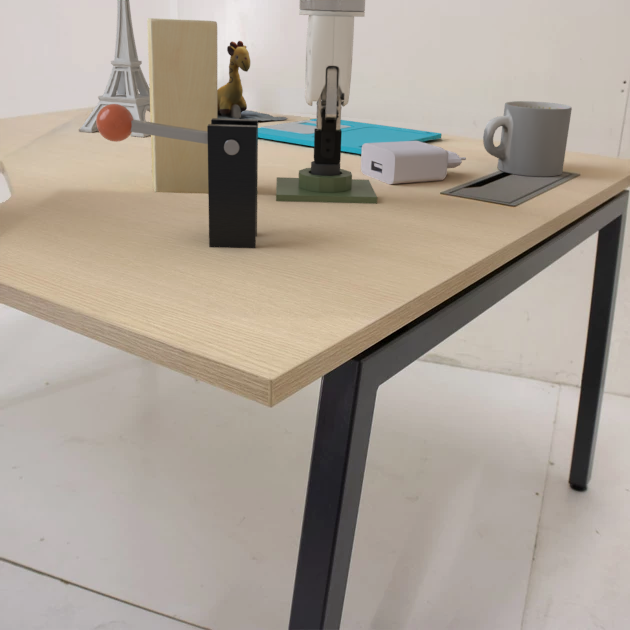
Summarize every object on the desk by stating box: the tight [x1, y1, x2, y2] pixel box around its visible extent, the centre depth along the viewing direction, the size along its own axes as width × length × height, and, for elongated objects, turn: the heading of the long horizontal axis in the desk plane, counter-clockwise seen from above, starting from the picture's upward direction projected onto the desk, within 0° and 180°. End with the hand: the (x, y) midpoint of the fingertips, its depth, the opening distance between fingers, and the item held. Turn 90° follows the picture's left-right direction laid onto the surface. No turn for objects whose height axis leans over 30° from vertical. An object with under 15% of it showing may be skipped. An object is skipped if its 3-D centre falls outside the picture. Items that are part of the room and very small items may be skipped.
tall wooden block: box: [146, 17, 218, 195], centre depth 100 cm, size 8×7×21 cm
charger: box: [360, 141, 467, 185], centre depth 117 cm, size 5×9×15 cm
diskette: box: [258, 118, 442, 155], centre depth 149 cm, size 26×28×1 cm
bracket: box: [207, 118, 259, 249], centre depth 76 cm, size 12×9×13 cm
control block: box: [275, 167, 378, 205], centre depth 99 cm, size 12×10×4 cm
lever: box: [96, 104, 208, 144], centre depth 74 cm, size 14×3×3 cm, turn 92°
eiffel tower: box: [78, 0, 150, 138], centre depth 145 cm, size 13×13×30 cm
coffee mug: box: [482, 100, 573, 178], centre depth 123 cm, size 13×10×10 cm
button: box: [310, 160, 341, 176], centre depth 98 cm, size 4×4×2 cm
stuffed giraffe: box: [217, 40, 289, 122], centre depth 168 cm, size 16×18×16 cm
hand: (326, 162), depth 98 cm, fingers closed
